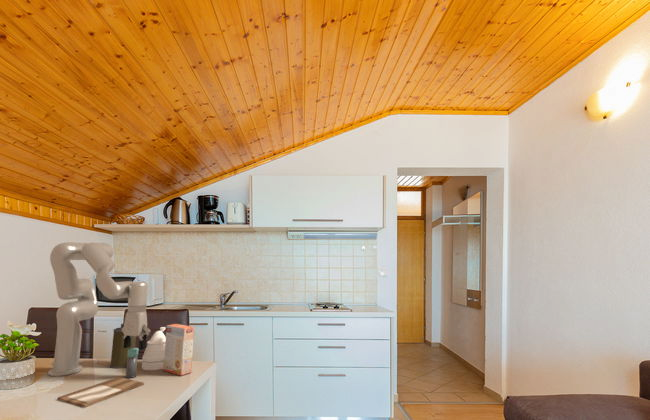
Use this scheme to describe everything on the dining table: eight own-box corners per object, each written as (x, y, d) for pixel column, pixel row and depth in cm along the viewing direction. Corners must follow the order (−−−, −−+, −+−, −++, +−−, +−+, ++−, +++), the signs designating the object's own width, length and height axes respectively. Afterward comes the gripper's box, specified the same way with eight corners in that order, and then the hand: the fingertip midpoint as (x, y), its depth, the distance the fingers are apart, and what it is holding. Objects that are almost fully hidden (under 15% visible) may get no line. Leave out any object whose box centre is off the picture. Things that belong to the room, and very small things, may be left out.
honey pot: (162, 360, 176) (165, 324, 179) (175, 365, 168) (177, 327, 171) (136, 366, 166) (140, 328, 169) (148, 372, 158) (151, 332, 161)
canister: (126, 368, 163) (130, 325, 165) (104, 368, 163) (109, 325, 165) (139, 361, 173) (142, 321, 176) (118, 361, 173) (122, 320, 176)
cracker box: (192, 372, 158) (195, 326, 161) (180, 376, 153) (183, 328, 156) (174, 367, 165) (177, 322, 168) (162, 370, 160) (165, 324, 163)
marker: (123, 377, 150) (125, 349, 152) (131, 374, 154) (134, 347, 156) (129, 379, 149) (132, 350, 150) (138, 376, 153) (140, 348, 154)
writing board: (57, 399, 127) (57, 396, 127) (117, 378, 149) (118, 376, 149) (84, 407, 121) (85, 404, 121) (143, 384, 143) (143, 382, 143)
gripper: (116, 309, 155) (113, 348, 153) (143, 311, 149) (140, 352, 146) (131, 307, 162) (128, 344, 160) (157, 309, 156) (155, 348, 153)
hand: (134, 348), depth 153 cm, fingers open, 9 cm apart
